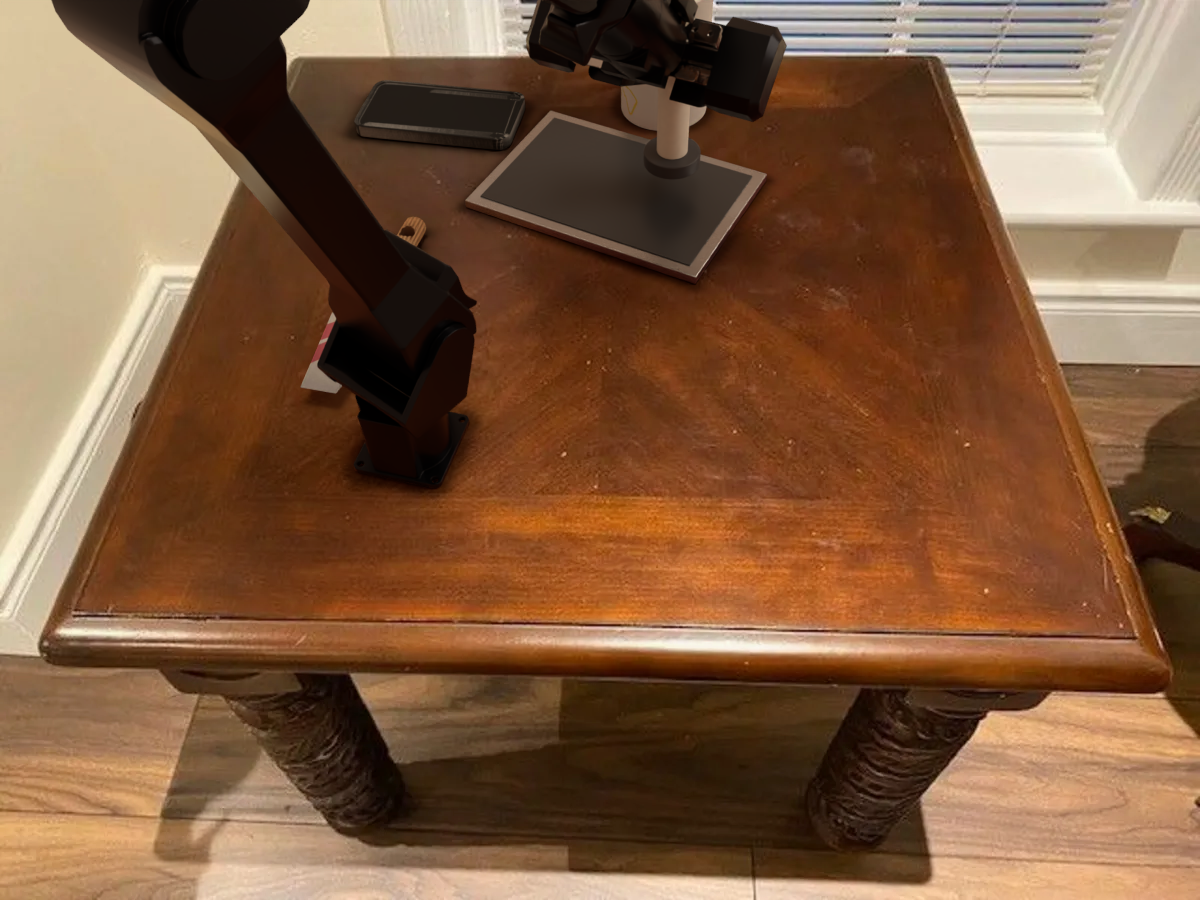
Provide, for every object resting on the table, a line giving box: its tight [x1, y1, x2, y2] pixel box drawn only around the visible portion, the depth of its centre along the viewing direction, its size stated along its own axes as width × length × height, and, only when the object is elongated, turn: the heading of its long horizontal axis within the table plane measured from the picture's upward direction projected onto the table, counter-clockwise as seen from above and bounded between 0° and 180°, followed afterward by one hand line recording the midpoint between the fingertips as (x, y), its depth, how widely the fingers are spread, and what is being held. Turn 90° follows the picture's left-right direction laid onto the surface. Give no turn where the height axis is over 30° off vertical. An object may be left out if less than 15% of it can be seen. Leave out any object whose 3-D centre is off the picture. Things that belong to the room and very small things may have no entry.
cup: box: [620, 0, 714, 132], centre depth 94 cm, size 8×8×12 cm
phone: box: [354, 79, 526, 151], centre depth 98 cm, size 8×1×15 cm
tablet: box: [464, 110, 768, 285], centre depth 90 cm, size 22×15×1 cm
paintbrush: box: [300, 216, 427, 394], centre depth 81 cm, size 4×3×20 cm
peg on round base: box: [643, 18, 702, 180], centre depth 82 cm, size 5×5×14 cm
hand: (681, 79), depth 83 cm, fingers closed on peg on round base, 2 cm apart
